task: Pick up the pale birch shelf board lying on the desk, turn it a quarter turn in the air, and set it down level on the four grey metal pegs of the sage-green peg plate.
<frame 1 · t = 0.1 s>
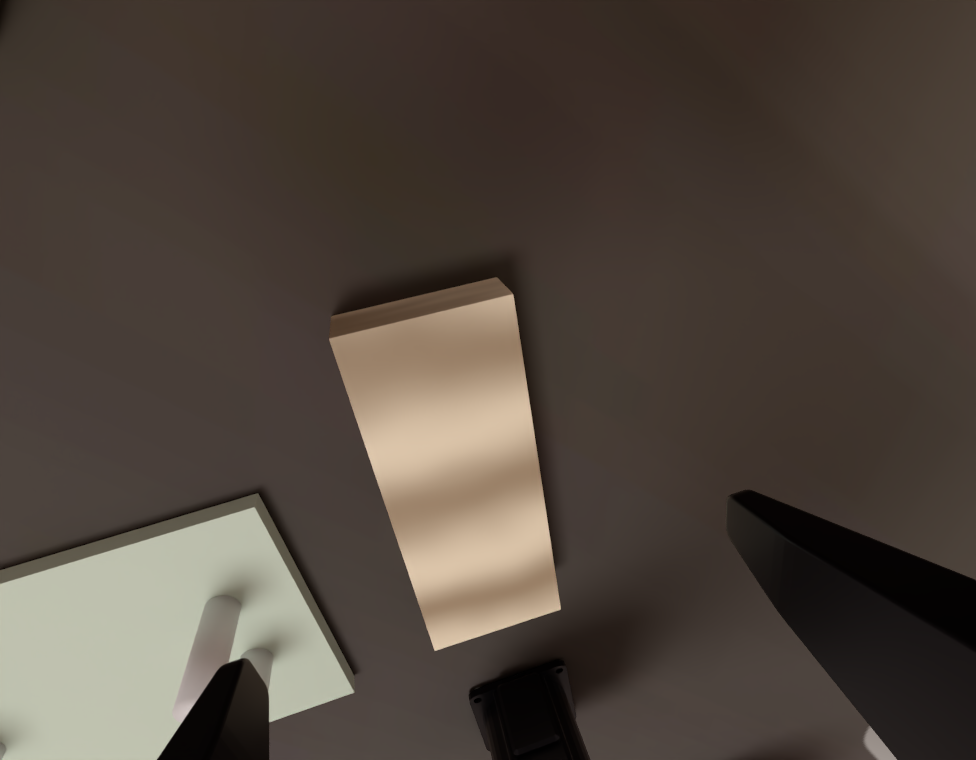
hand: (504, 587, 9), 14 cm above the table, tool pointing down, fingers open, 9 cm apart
peg plate: (111, 660, 26), on the table
shelf board: (456, 463, 26), on the table
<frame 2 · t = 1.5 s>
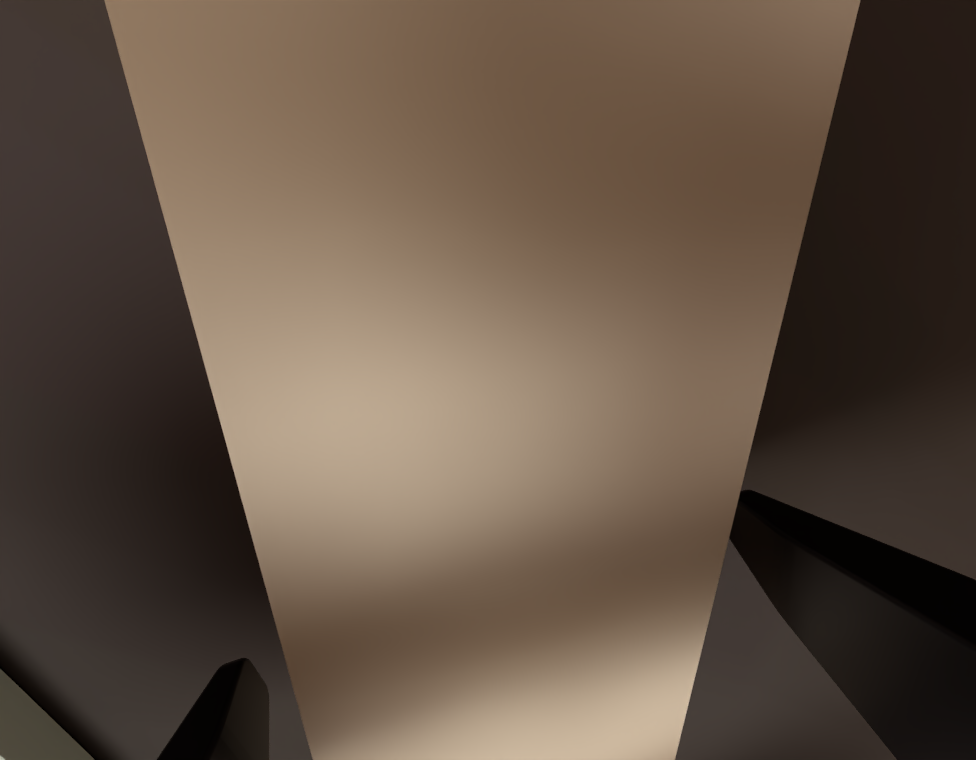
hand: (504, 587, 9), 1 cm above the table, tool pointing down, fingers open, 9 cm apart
shelf board: (481, 517, 11), on the table
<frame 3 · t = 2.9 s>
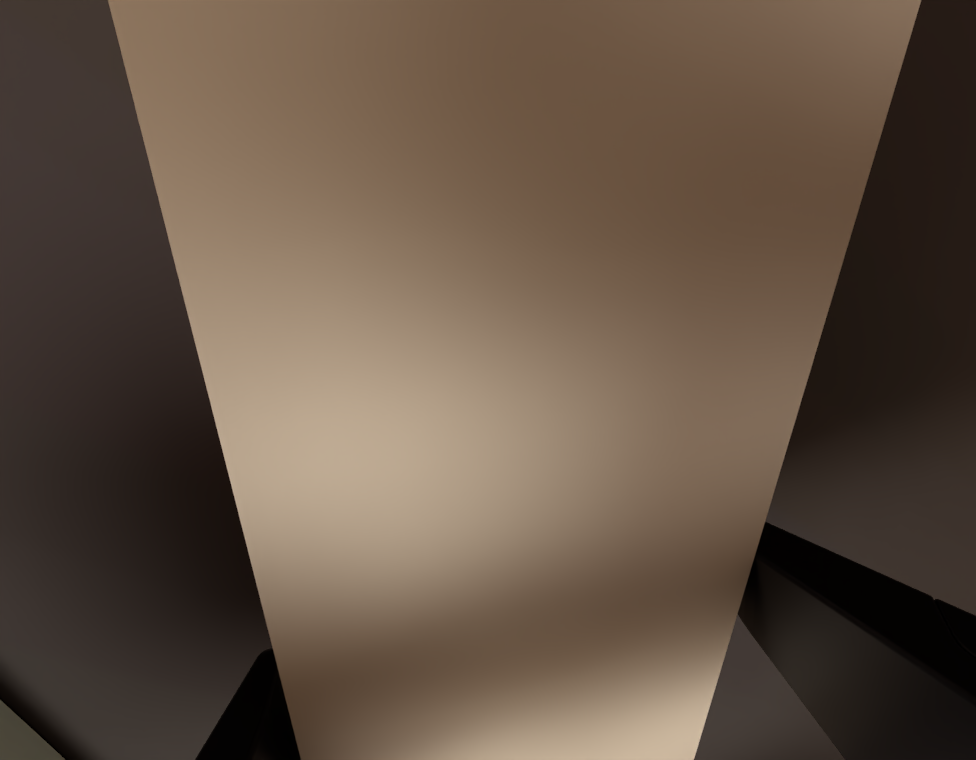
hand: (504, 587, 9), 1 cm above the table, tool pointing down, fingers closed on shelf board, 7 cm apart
shelf board: (488, 535, 11), on the table, touching gripper
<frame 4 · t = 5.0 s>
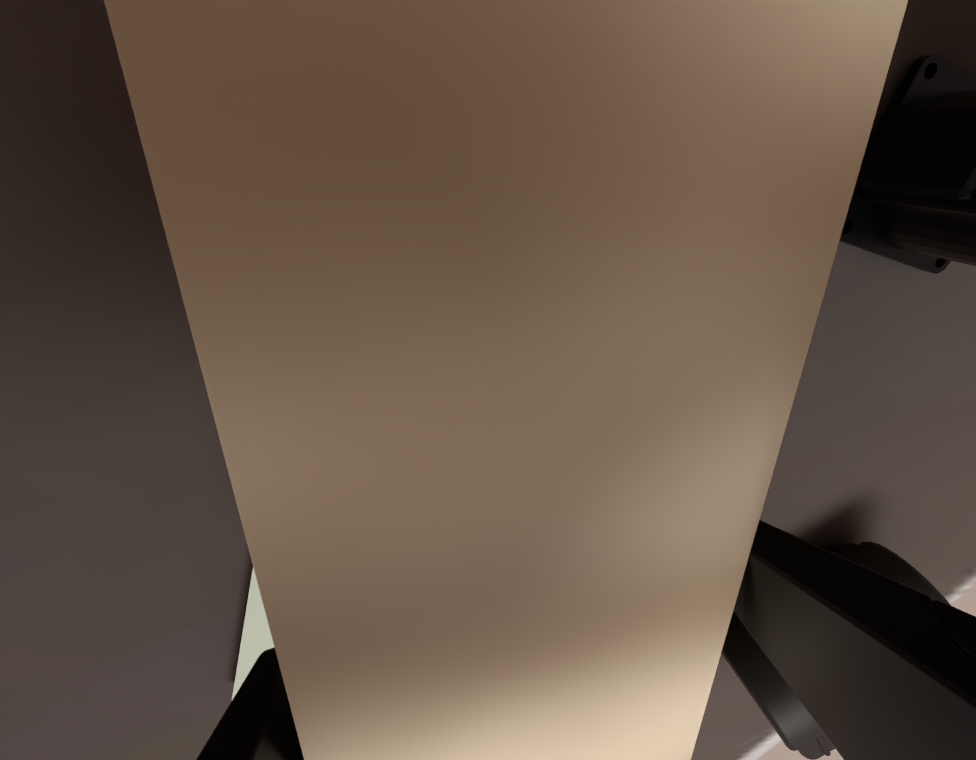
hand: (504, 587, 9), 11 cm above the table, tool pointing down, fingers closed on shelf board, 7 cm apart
end cap: (779, 589, 31), on the table
peg plate: (436, 524, 23), on the table
shelf board: (487, 529, 11), point 10 cm above the table, touching gripper
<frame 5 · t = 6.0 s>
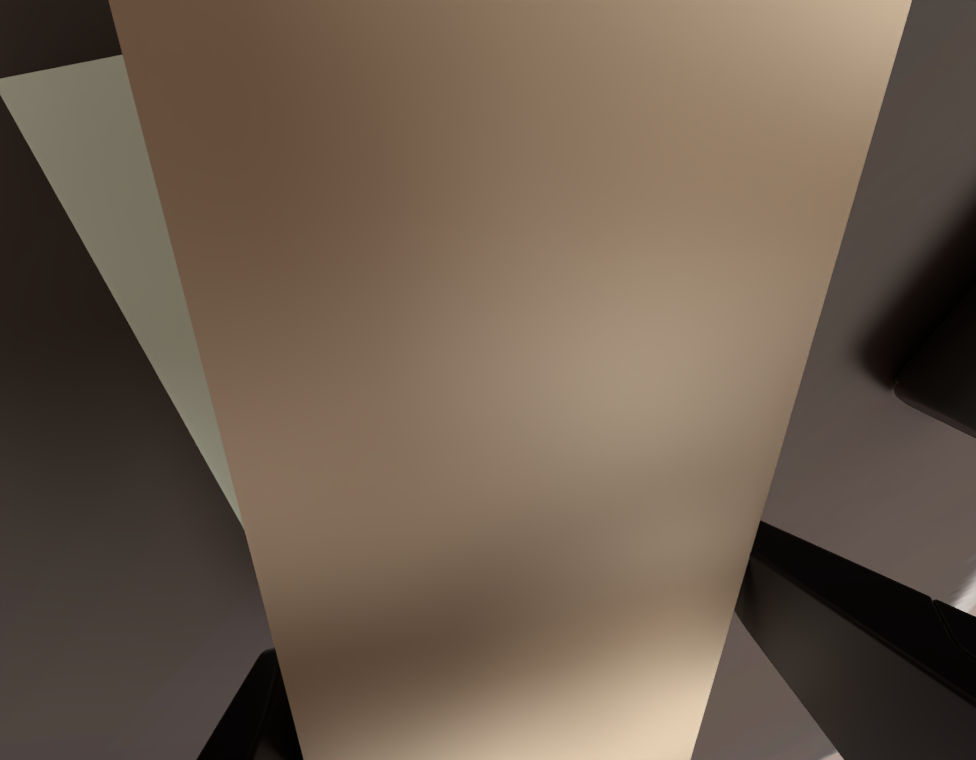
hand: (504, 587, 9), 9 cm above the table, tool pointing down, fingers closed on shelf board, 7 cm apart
end cap: (974, 295, 21), on the table
peg plate: (435, 385, 17), on the table
shelf board: (487, 530, 11), point 7 cm above the table, touching gripper
when the fingers open (8 cm above the table, at t = 6.9 s): shelf board drops 1 cm, resting on peg plate.
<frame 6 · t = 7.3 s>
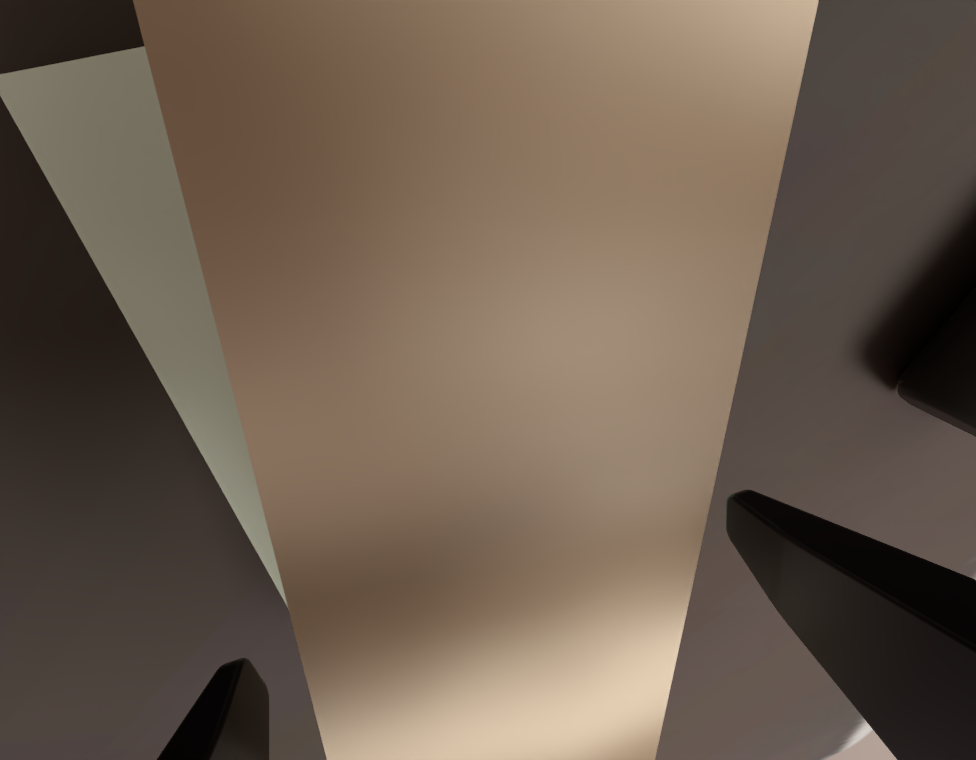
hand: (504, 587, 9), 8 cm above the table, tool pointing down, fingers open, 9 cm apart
peg plate: (436, 385, 17), on the table
shelf board: (476, 498, 12), point 6 cm above the table, touching peg plate
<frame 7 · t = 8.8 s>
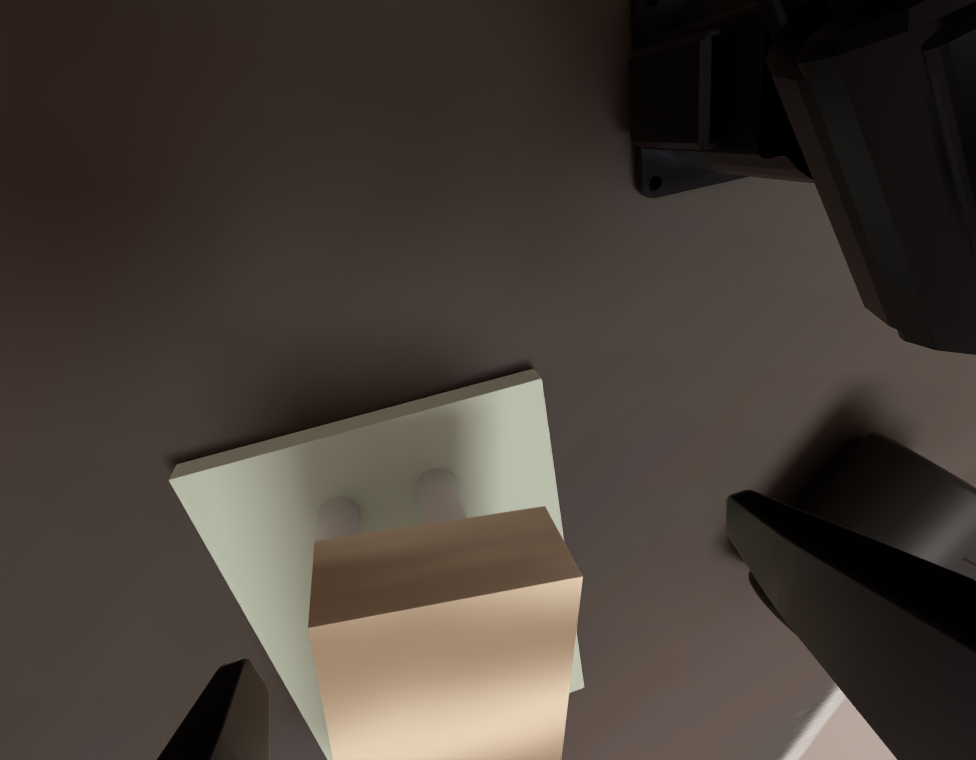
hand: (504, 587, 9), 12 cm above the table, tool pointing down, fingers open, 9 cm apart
end cap: (810, 501, 30), on the table
peg plate: (421, 591, 25), on the table
shelf board: (442, 712, 20), point 6 cm above the table, touching peg plate
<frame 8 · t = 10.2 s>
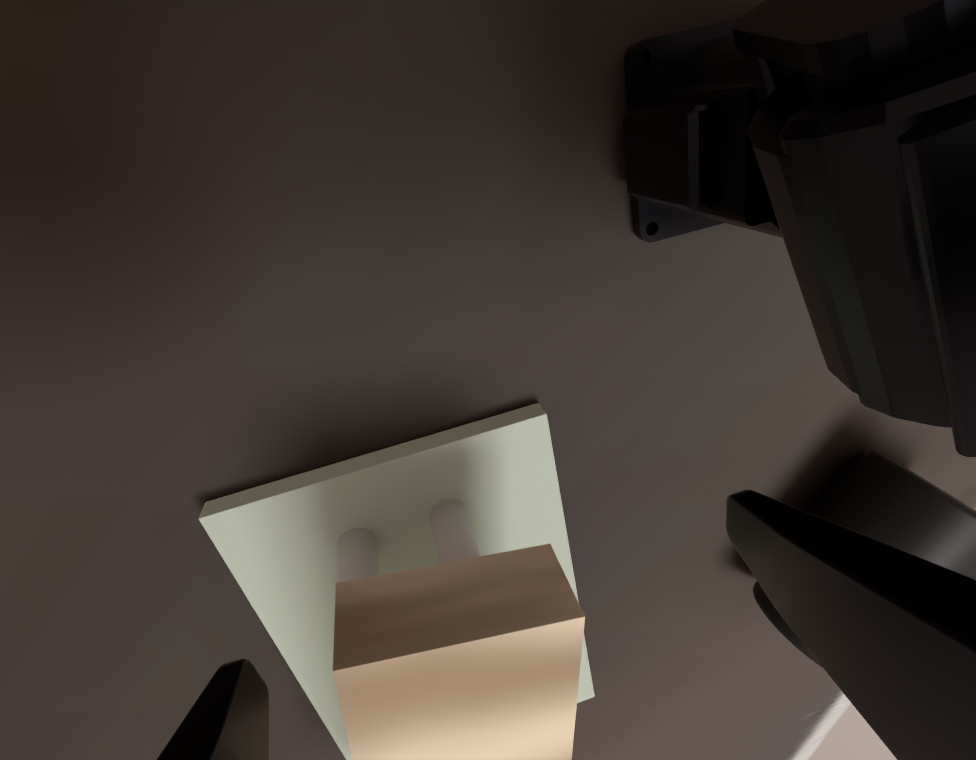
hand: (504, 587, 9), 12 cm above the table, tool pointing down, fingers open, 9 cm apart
end cap: (813, 515, 30), on the table
peg plate: (436, 610, 26), on the table
shelf board: (458, 730, 21), point 6 cm above the table, touching peg plate
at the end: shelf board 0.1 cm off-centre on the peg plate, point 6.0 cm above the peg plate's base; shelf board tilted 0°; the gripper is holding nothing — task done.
